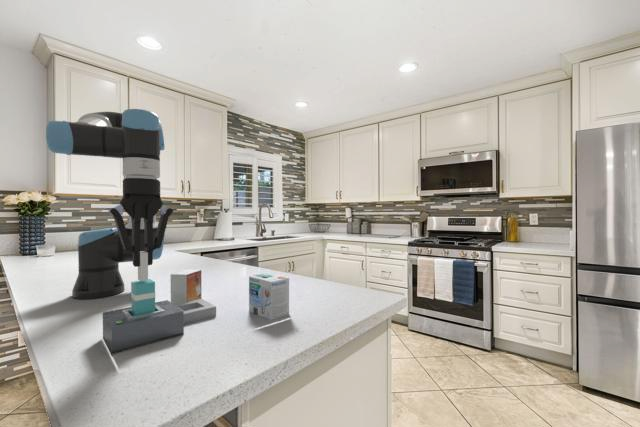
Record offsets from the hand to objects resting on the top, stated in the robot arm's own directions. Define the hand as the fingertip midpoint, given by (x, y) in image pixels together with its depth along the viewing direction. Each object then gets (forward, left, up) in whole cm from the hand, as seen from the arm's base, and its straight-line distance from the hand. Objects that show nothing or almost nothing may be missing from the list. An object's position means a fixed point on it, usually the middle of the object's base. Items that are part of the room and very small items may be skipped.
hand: (142, 279), depth 70 cm
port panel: (0, 0, -14) cm, 14 cm away
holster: (-6, +13, -14) cm, 20 cm away
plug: (0, 0, -13) cm, 13 cm away
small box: (-18, +16, -14) cm, 28 cm away
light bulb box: (+7, +30, -14) cm, 34 cm away
